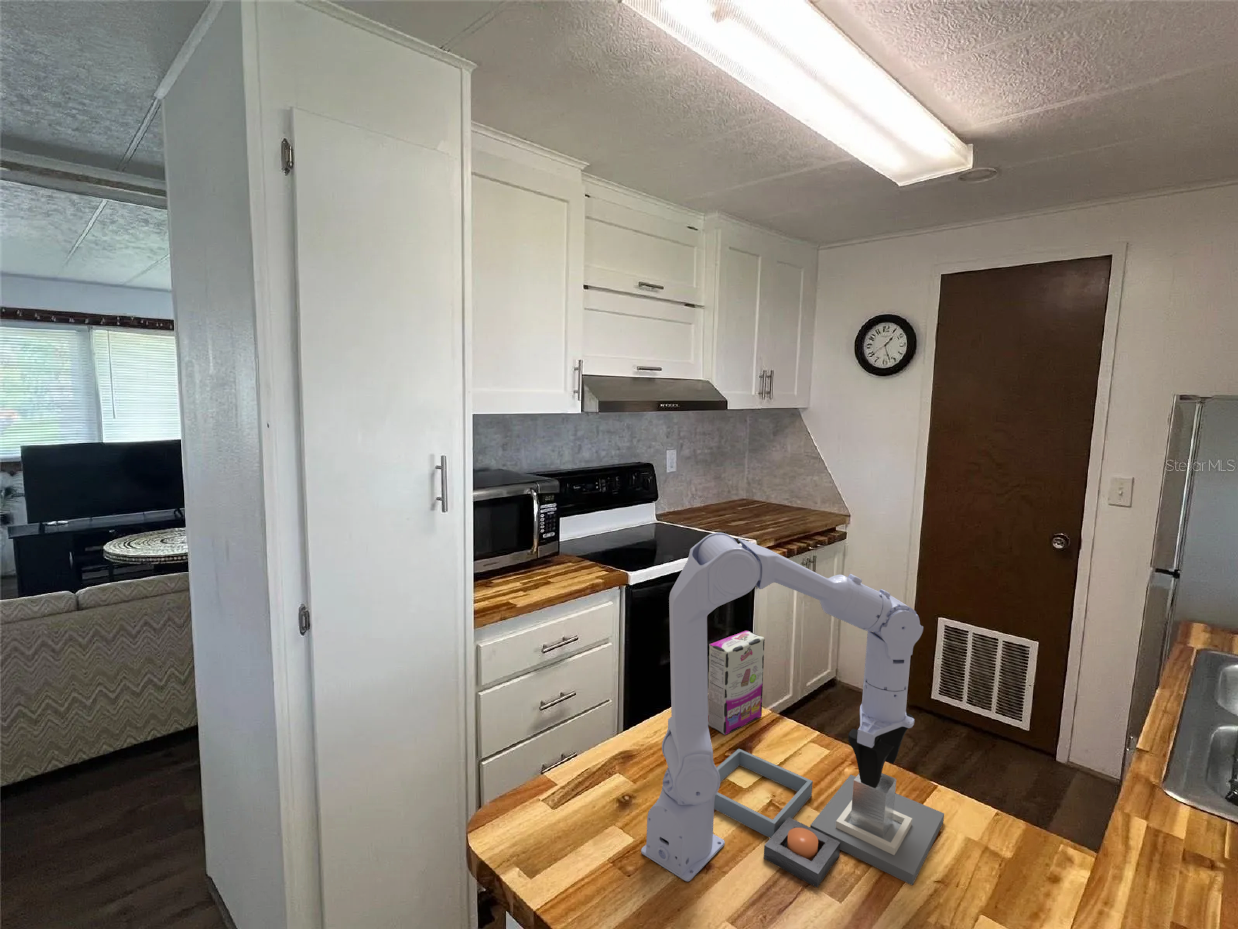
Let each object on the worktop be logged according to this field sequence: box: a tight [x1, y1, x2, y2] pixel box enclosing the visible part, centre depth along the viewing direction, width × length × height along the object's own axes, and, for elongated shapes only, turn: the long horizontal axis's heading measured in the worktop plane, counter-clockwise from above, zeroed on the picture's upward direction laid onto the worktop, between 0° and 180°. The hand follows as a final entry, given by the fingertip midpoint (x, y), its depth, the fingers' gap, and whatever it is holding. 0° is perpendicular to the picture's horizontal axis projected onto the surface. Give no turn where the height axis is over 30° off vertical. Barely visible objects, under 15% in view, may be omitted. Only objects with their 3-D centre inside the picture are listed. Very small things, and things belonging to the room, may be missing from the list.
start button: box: [787, 828, 818, 861], centre depth 86 cm, size 4×4×2 cm
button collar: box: [763, 817, 841, 888], centre depth 86 cm, size 8×8×2 cm
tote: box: [714, 748, 813, 839], centre depth 98 cm, size 13×13×2 cm
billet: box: [850, 772, 897, 839], centre depth 90 cm, size 4×4×7 cm
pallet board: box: [809, 774, 945, 886], centre depth 92 cm, size 16×14×2 cm
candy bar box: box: [708, 630, 766, 736], centre depth 120 cm, size 11×5×16 cm, turn 129°
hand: (878, 772), depth 89 cm, fingers open, 7 cm apart
